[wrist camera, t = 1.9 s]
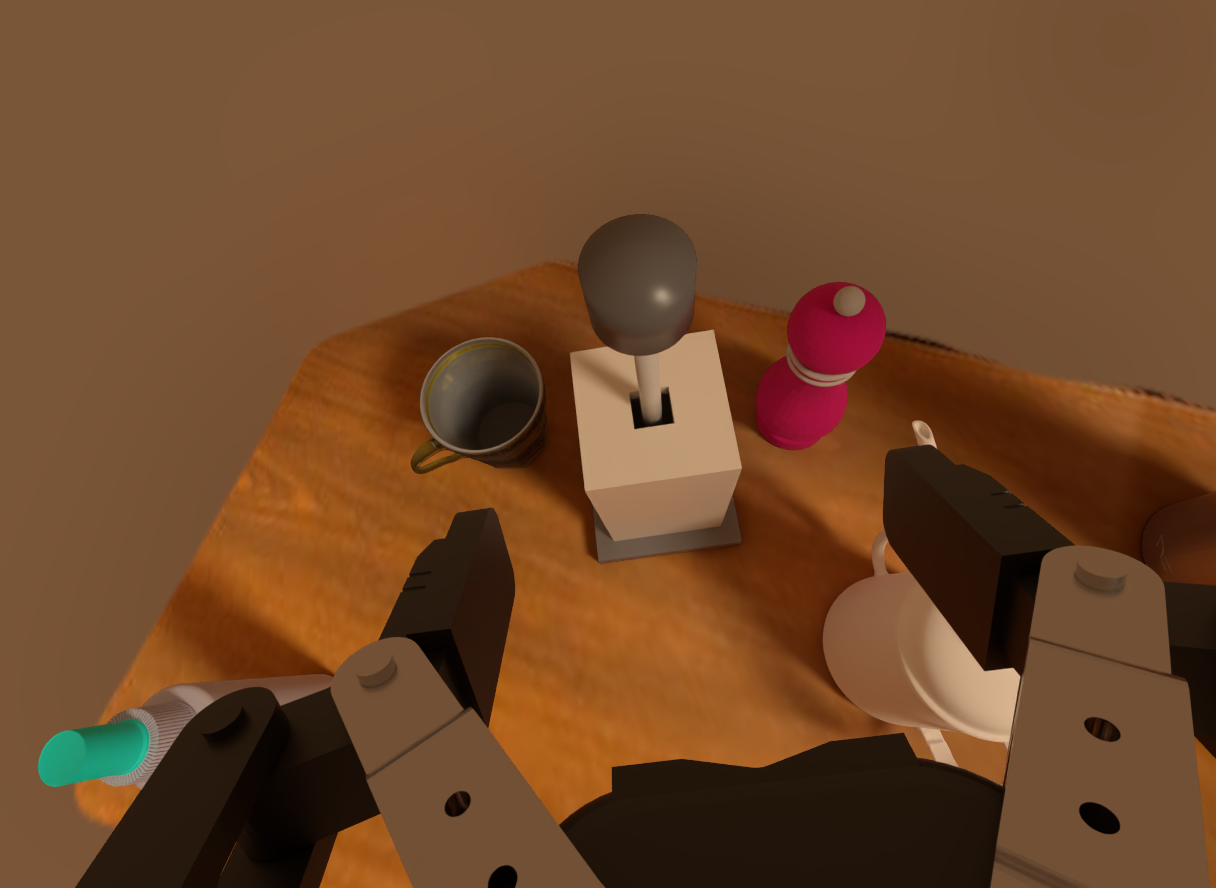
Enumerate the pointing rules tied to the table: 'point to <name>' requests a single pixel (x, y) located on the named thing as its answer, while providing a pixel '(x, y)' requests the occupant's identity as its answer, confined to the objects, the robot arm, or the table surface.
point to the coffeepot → (913, 658)
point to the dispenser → (658, 452)
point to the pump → (640, 294)
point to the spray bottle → (150, 731)
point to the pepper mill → (818, 364)
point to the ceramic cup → (483, 406)
